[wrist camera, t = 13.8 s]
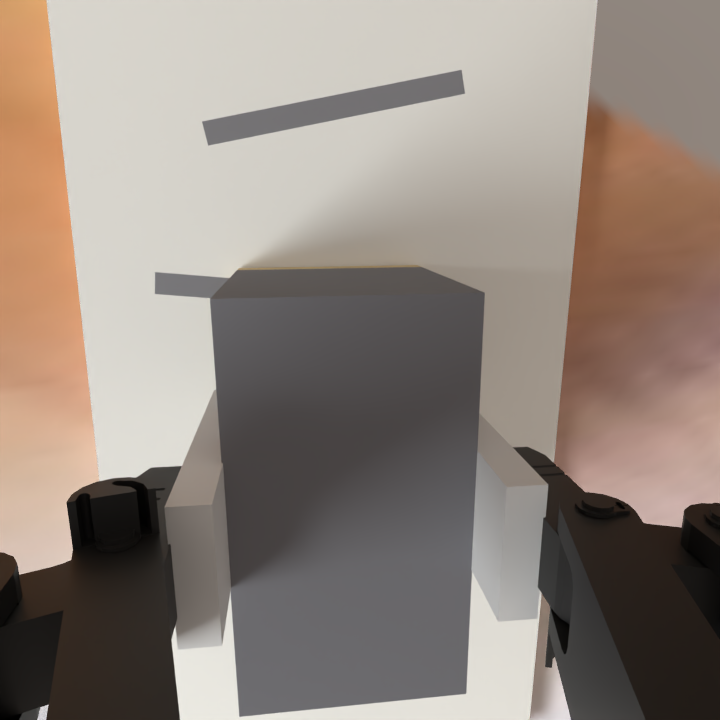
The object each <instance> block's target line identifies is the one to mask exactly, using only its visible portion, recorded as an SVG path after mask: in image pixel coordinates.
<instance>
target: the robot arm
mask: <svg viewBox="0 0 720 720" xmlns="http://www.w3.org/2000/svg"><path fill="white" fill-rule="evenodd" d="M67 508H68V516H69V523H70V530H71V537H72V545H73V553H72V560H71V561H68V562H66V563H63V564H60V565H57V566H53V567H50V568H46V569H42V570H38V571H34V572H29V573H25V574H21V575H19V572H18V566H17V562H16V561H15V559H14V557H13V556H10V555H8V554H5V553H0V720H37V718H38V714H39V710H40V707H42V706H45V705H48V704H49V706H48V713H47V719H46V720H180V714H179V705H178V696H177V687H176V677H175V668H174V659H173V650H172V641H171V639H172V636H173V632H174V628H175V626H176V637H177V647H178V650H180V649H191V648H203V647H214V646H222V643H223V637H224V630H225V624H226V617H227V611H228V604H229V598H230V591H231V579H230V564H229V548H228V533H227V518H226V502H225V487H224V472H223V463H221V450H220V435H219V421H218V407H217V393H216V390H214V391H213V394H212V396H211V398H210V401H209V403H208V406H207V408H206V410H205V413H204V415H203V417H202V420H201V422H200V424H199V427H198V429H197V432H196V434H195V436H194V439H193V441H192V443H191V446H190V448H189V450H188V453H187V455H186V457H185V460H184V462H183V465H182V466H171V467H152V468H150V469H148V470H147V471H145V472H144V473H142V474H141V475H139V476H138V477H136V478H133V477H123V478H112V479H107V480H103V481H99V482H95V483H93V484H90V485H88V486H85V487H83V488H81V489H79V490H78V491H76V492H75V493H73V494H72V495H71V496H70V498H69V499H68V501H67ZM471 570H472V572H473V574H474V576H475V578H476V580H477V582H478V584H479V586H480V588H481V589H482V591H483V593H484V595H485V597H486V599H487V601H488V603H489V605H490V607H491V609H492V611H493V613H494V615H495V617H496V619H497V621H498V622H503V621H515V620H526V619H537V616H538V604H539V592H540V591H541V593H542V594H543V596H544V597H545V599H546V600H547V602H548V603H549V605H550V616H549V627H548V639H547V650H546V665H545V667H551V668H552V659H553V658H554V657H555V658H556V662H557V666H558V670H559V674H560V677H561V681H562V685H563V689H564V693H565V697H566V701H567V705H568V709H569V712H570V716H571V720H720V503H713V504H706V503H701V504H695V505H690V506H689V507H688V508H686V509H685V510H684V516H683V523H682V528H680V527H671V526H662V525H652V524H645V523H643V522H642V520H641V519H640V517H639V516H638V514H637V512H636V511H635V510H634V509H633V508H632V507H631V506H630V505H628V504H626V503H625V502H623V501H621V500H619V499H617V498H613V497H610V496H607V495H603V494H596V493H589V492H586V493H585V492H584V491H583V490H582V489H581V488H580V487H579V486H578V485H577V484H576V483H575V482H574V481H573V480H571V479H570V478H569V477H568V476H567V475H565V474H564V472H563V471H562V470H561V469H560V468H559V467H556V465H555V464H554V463H553V462H552V461H551V460H550V459H549V458H548V457H547V456H546V455H544V454H542V453H540V452H538V451H536V450H534V449H532V448H529V447H512V446H511V445H510V444H509V443H508V442H507V441H506V440H505V439H504V438H503V437H502V436H501V435H500V434H499V433H498V432H497V431H496V430H495V429H494V428H493V427H492V425H491V424H490V423H489V422H488V421H487V420H486V419H485V418H484V417H483V416H482V415H481V414H480V413H479V430H478V450H477V468H476V488H475V508H474V528H473V548H472V568H471Z"/></svg>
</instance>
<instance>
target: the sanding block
mask: <svg viewBox="0 0 720 720" xmlns="http://www.w3.org/2000/svg"><path fill="white" fill-rule="evenodd" d="M484 301H485V293H484V292H482V291H479V290H477V289H475V288H472V287H470V286H467V285H465V284H462V283H460V282H457V281H455V280H452V279H450V278H448V277H445V276H443V275H440V274H438V273H435V272H433V271H430V270H428V269H425V268H423V267H420V266H418V265H391V266H333V267H274V268H238V270H237V271H236V272H235V273H234V274H233V275H232V276H231V277H230V278H229V279H228V280H227V281H226V282H225V283H224V284H223V285H222V287H221V288H220V289H219V290H218V291H217V292H216V293H215V294H214V295H213V296H212V297H211V298H210V308H211V322H212V336H213V350H214V364H215V379H216V393H217V407H218V421H219V435H220V450H221V463H223V472H224V487H225V502H226V518H227V533H228V548H229V564H230V579H231V591H230V592H231V606H232V620H233V634H234V648H235V663H236V677H237V691H238V705H239V717H243V716H253V715H262V714H272V713H282V712H292V711H302V710H312V709H322V708H332V707H341V706H351V705H361V704H371V703H381V702H391V701H401V700H411V699H420V698H430V697H440V696H450V695H460V694H466V690H467V668H468V646H469V625H470V603H471V582H472V570H471V568H472V548H473V528H474V508H475V488H476V468H477V450H478V430H479V409H480V387H481V365H482V344H483V322H484Z"/></svg>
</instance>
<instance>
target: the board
mask: <svg viewBox="0 0 720 720" xmlns="http://www.w3.org/2000/svg"><path fill="white" fill-rule="evenodd" d="M597 4H598V0H47V9H48V18H49V27H50V36H51V45H52V54H53V63H54V72H55V81H56V90H57V99H58V109H59V118H60V127H61V136H62V145H63V154H64V163H65V172H66V181H67V190H68V199H69V208H70V217H71V227H72V236H73V245H74V254H75V263H76V272H77V281H78V290H79V299H80V308H81V317H82V326H83V335H84V345H85V354H86V363H87V372H88V381H89V390H90V399H91V408H92V417H93V426H94V435H95V444H96V453H97V463H98V472H99V481H103V480H107V479H112V478H123V477H133V478H136V477H138V476H139V475H141V474H142V473H144V472H145V471H147V470H148V469H150V468H152V467H171V466H182V465H183V462H184V460H185V457H186V455H187V453H188V450H189V448H190V446H191V443H192V441H193V439H194V436H195V434H196V432H197V429H198V427H199V424H200V422H201V420H202V417H203V415H204V413H205V410H206V408H207V406H208V403H209V401H210V398H211V396H212V394H213V391H214V390H216V379H215V364H214V350H213V336H212V322H211V308H210V298H211V297H212V296H213V295H214V294H215V293H216V292H217V291H218V290H219V289H220V288H221V287H222V285H223V284H224V283H225V282H226V281H227V280H228V279H229V278H230V277H231V276H232V275H233V274H234V273H235V272H236V271H237V270H238V268H274V267H333V266H391V265H418V266H420V267H423V268H425V269H428V270H430V271H433V272H435V273H438V274H440V275H443V276H445V277H448V278H450V279H452V280H455V281H457V282H460V283H462V284H465V285H467V286H470V287H472V288H475V289H477V290H479V291H482V292H484V293H485V301H484V322H483V344H482V365H481V387H480V409H479V413H480V414H481V415H482V416H483V417H484V418H485V419H486V420H487V421H488V422H489V423H490V424H491V425H492V427H493V428H494V429H495V430H496V431H497V432H498V433H499V434H500V435H501V436H502V437H503V438H504V439H505V440H506V441H507V442H508V443H509V444H510V445H511V446H512V447H529V448H532V449H534V450H536V451H538V452H540V453H542V454H544V455H546V456H547V457H548V458H549V459H550V460H551V461H552V462H553V463H554V457H555V447H556V436H557V426H558V415H559V405H560V394H561V384H562V373H563V362H564V352H565V341H566V331H567V320H568V310H569V299H570V289H571V278H572V267H573V257H574V246H575V236H576V225H577V215H578V204H579V194H580V183H581V173H582V162H583V151H584V141H585V130H586V120H587V109H588V99H589V88H590V78H591V66H592V56H593V46H594V35H595V25H596V14H597ZM541 595H542V593H541V591H540V592H539V604H538V616H537V619H526V620H515V621H503V622H498V621H497V619H496V617H495V615H494V613H493V611H492V609H491V607H490V605H489V603H488V601H487V599H486V597H485V595H484V593H483V591H482V589H481V588H480V586H479V584H478V582H477V580H476V578H475V576H474V574H473V572H472V582H471V603H470V625H469V646H468V668H467V690H466V694H460V695H450V696H440V697H430V698H420V699H411V700H401V701H391V702H381V703H371V704H361V705H351V706H341V707H332V708H322V709H312V710H302V711H292V712H282V713H272V714H262V715H253V716H243V717H239V705H238V691H237V677H236V663H235V648H234V634H233V620H232V606H231V592H230V598H229V604H228V611H227V617H226V624H225V630H224V637H223V643H222V646H214V647H203V648H191V649H180V650H178V647H177V637H176V626H175V628H174V632H173V636H172V639H171V641H172V650H173V659H174V668H175V677H176V687H177V696H178V705H179V714H180V720H530V711H531V700H532V690H533V679H534V669H535V658H536V647H537V637H538V626H539V616H540V605H541Z"/></svg>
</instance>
